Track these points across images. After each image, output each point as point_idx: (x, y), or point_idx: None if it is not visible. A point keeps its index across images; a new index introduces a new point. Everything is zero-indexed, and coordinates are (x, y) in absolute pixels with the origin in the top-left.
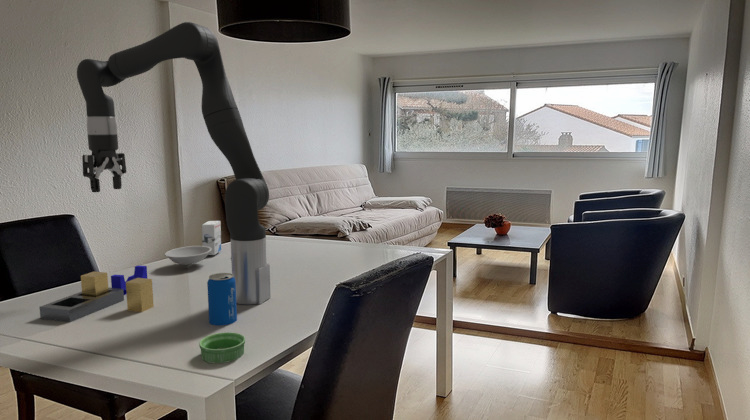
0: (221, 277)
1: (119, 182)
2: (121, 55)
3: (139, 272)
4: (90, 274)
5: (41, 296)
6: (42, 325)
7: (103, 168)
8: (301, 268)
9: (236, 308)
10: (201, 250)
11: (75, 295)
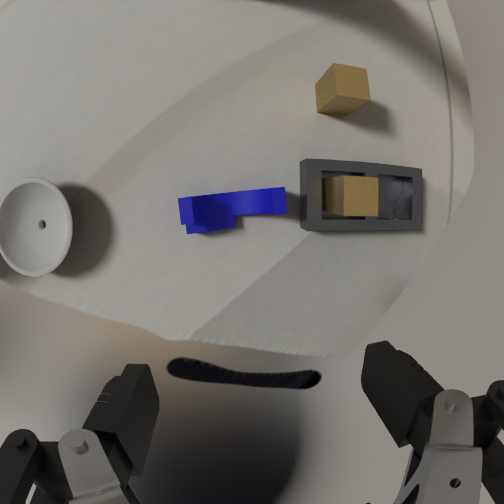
0: None
1: (130, 393)
2: None
3: (196, 206)
4: (365, 202)
5: (314, 334)
6: None
7: (439, 479)
8: (42, 27)
9: None
10: (5, 228)
11: (366, 220)
